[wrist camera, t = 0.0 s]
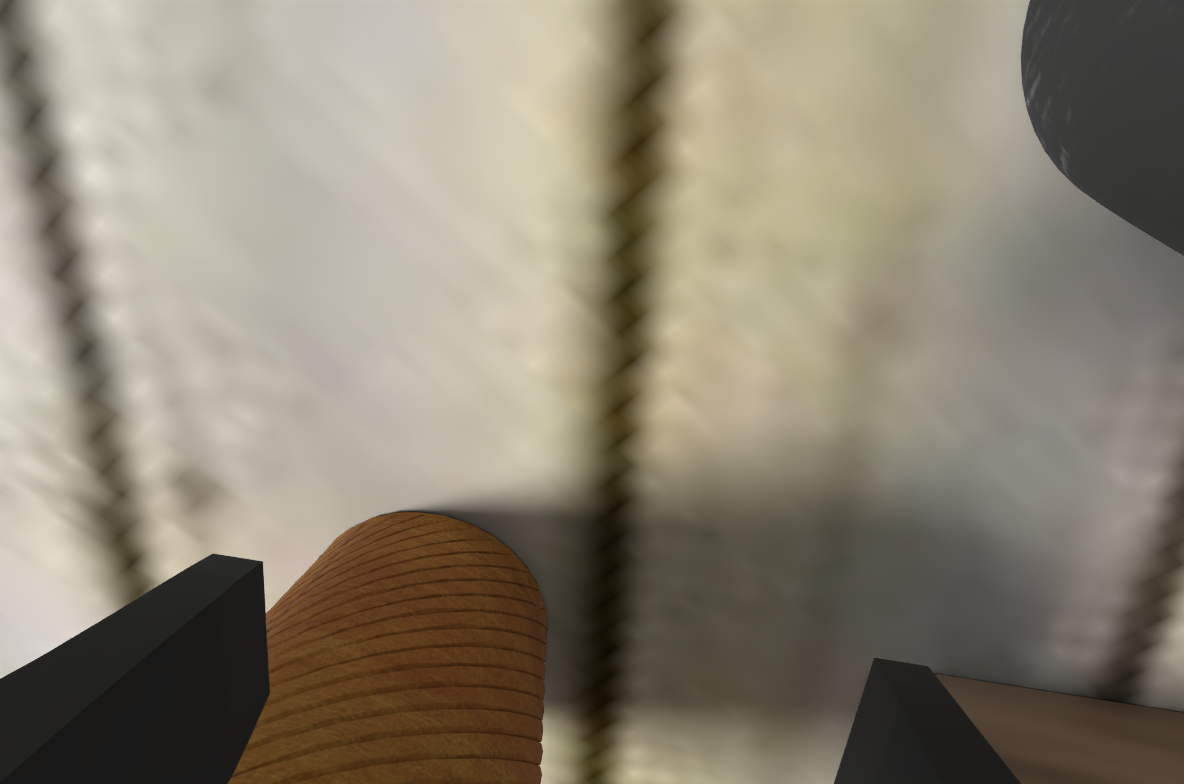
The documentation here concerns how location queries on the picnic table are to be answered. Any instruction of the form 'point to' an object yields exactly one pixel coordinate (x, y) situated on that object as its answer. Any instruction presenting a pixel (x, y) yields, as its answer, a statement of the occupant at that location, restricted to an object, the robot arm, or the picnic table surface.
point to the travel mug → (1112, 103)
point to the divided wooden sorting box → (1073, 735)
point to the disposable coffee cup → (404, 663)
